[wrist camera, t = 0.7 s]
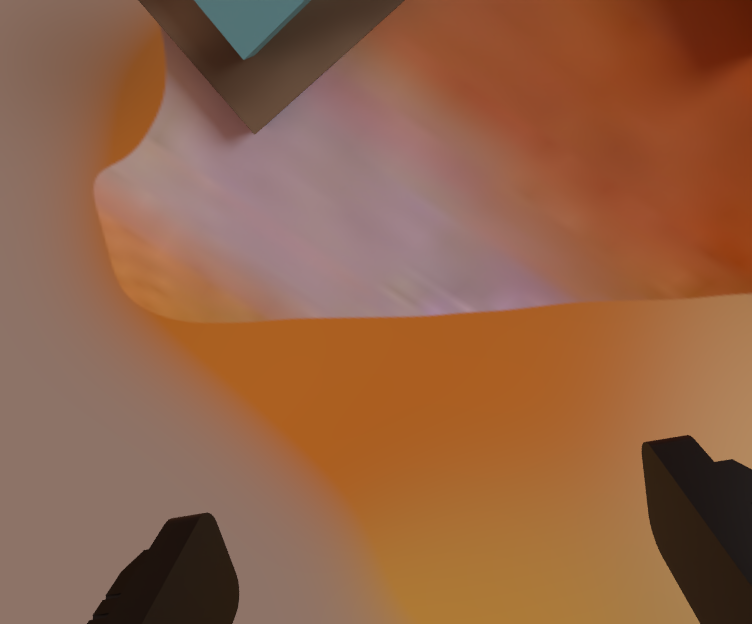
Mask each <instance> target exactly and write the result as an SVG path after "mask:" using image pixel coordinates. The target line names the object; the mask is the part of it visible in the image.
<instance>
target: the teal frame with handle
mask: <svg viewBox="0 0 752 624" xmlns="http://www.w3.org/2000/svg"><path fill="white" fill-rule="evenodd" d="M194 1H195V2H196V3H197V4H198V6H199V7H200V8H201V9H202V10H203V12H204V13H205V14H206V15H207V16H208V18H209V19H210V20H211V21H212V23H213V24H214V25H215V26H216V27H217V29H218V30H219V31H220V32H221V33H222V35H223V36H224V37H225V38H226V39H227V41H228V42H229V43H230V44H231V46H232V47H233V48H234V49H235V50H236V52H237V53H238V54H239V55H240V56H241V58H242V59H243V60H245V59H247V58H250V57H252V56H254V55H255V54H256V53H258V52H259V51H260V50H261V49H262V48H263V47H264V46H265V45H266V44H267V43H268V42H269V41H270V40H271V39H272V38H273V37H274V36H275V35H276V34H277V33H278V32H279V31H280V30H281V29H282V28H283V27H284V26H285V25H286V24H287V23H288V22H289V21H290V20H291V19H292V18H293V17H295V16H296V15H297V14H298V13H299V12H300V11H301V10H302V9H303V8H304V7H305V6H306V5H307V4H308V3H309V2H310V1H311V0H194Z"/></svg>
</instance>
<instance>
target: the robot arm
mask: <svg viewBox="0 0 752 624" xmlns="http://www.w3.org/2000/svg"><path fill="white" fill-rule="evenodd" d="M642 460H643V469H644V478H645V486H646V495H647V505H648V514H649V519H650V525H651V529H652V532H653V535H654V538H655V541H656V544H657V546H658V549H659V551H660V553H661V555H662V557H663V559H664V560H665V562H666V564H667V566H668V567H669V569H670V571H671V573H672V574H673V576H674V578H675V580H676V581H677V583H678V585H679V587H680V588H681V590H682V592H683V594H684V595H685V597H686V599H687V601H688V603H689V604H690V606H691V608H692V609H693V611H694V613H695V615H696V617H697V618H698V620H699V622H700V624H752V469H750V468H748V467H746V466H744V465H742V464H740V463H738V462H736V461H734V460H733V459H731V460H725V461H718V462H714V461H713V460H712V459H711V458H710V457H709V456H708V454H707V453H706V452H705V451H704V450H703V449H702V447H700V445H699V444H698V443H697V442H696V441H695V439H693V438H692V437H691V436H689V435H687V436H680V437H673V438H667V439H662V440H656V441H649V442H644V443H643V445H642ZM238 602H239V584H238V579H237V575H236V572H235V570H234V567H233V565H232V562H231V559H230V556H229V554H228V551H227V548H226V546H225V543H224V540H223V538H222V535H221V533H220V530H219V527H218V525H217V522H216V520H215V518H214V517H213V516H212V515H211V514H210V513H202V514H196V515H190V516H184V517H178V518H172V519H169V520H168V521H167V522H166V523H165V524H164V526H163V528H162V529H161V531H160V532H159V534H158V536H157V537H156V539H155V540H154V542H153V544H152V545H151V547H150V548H149V549H148V550H144V551H143V552H142V553H141V554H140V555H139V556H138V557H137V558H136V559H134V560H133V561H132V562H131V563H130V564H129V565H128V566H127V567H126V568H125V569H124V570H123V571H122V572H121V573H120V574H119V576H118V578H117V579H116V581H115V582H114V584H113V585H112V587H111V588H110V590H109V591H108V593H107V594H106V600H102V602H101V603H100V605H99V607H98V608H97V610H96V611H95V613H94V614H93V620H90V621H89V622H88V623H87V624H232V623H233V620H234V618H235V615H236V612H237V609H238Z"/></svg>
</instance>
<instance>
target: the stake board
mask: <svg viewBox="0 0 752 624" xmlns="http://www.w3.org/2000/svg"><path fill="white" fill-rule="evenodd" d="M139 1H140V3H141V4H142V5H143V6H144V7H145V8H146V9H147V11H148V12H149V13H150V14H151V15H152V16H153V17H154V19H155V20H156V21H157V22H158V23H159V25H160V26H161V27H162V28H163V29H164V30H165V32H166V33H167V34H168V35H169V36H170V37H171V38H172V40H173V41H174V42H175V43H176V44H177V45H178V47H179V48H180V49H181V50H182V51H183V52H184V54H185V55H186V56H187V57H188V58H189V59H190V60H191V62H192V63H193V64H194V65H195V66H196V67H197V69H198V70H199V71H200V72H201V73H202V74H203V76H204V77H205V78H206V79H207V80H208V81H209V82H210V84H211V85H212V86H213V87H214V88H215V89H216V91H217V92H218V93H219V94H220V95H221V96H222V98H223V99H224V100H225V101H226V102H227V103H228V104H229V106H230V107H231V108H232V109H233V110H234V111H235V113H236V114H237V115H238V116H239V117H240V118H241V120H242V121H243V122H244V123H245V124H246V125H247V126H248V128H249V129H250V130H251V131H252V132H253V133H254V135H255V134H256V133H257V132H258V131H259V130H261V129H262V128H263V127H264V126H265V125H266V124H267V123H268V122H270V121H271V120H272V119H273V118H274V117H275V116H276V115H277V114H279V113H280V112H281V111H282V110H283V109H284V108H285V107H286V106H287V105H289V104H290V103H291V102H292V101H293V100H294V99H295V98H296V97H297V96H299V95H300V94H301V93H302V92H303V91H304V90H305V89H306V88H307V87H309V86H310V85H311V84H312V83H313V82H314V81H315V80H316V79H318V78H319V77H320V76H321V75H322V74H323V73H324V72H325V71H326V70H328V69H329V68H330V67H331V66H332V65H333V64H334V63H335V62H336V61H338V60H339V59H340V58H341V57H342V56H343V55H344V54H345V53H346V52H348V51H349V50H350V49H351V48H352V47H353V46H354V45H355V44H357V43H358V42H359V41H360V40H361V39H362V38H363V37H364V36H365V35H367V34H368V33H369V32H370V31H371V30H372V29H373V28H374V27H375V26H377V25H378V24H379V23H380V22H381V21H382V20H383V19H384V18H385V17H387V16H388V15H389V14H390V13H391V12H392V11H393V10H394V9H396V8H397V7H398V6H399V5H400V4H401V3H402V2H403V1H404V0H311V1H310V2H309V3H308V4H307V5H306V6H305V7H304V8H303V9H302V10H301V11H300V12H299V13H298V14H297V15H296V16H295V17H293V18H292V19H291V20H290V21H289V22H288V23H287V24H286V25H285V26H284V27H283V28H282V29H281V30H280V31H279V32H278V33H277V34H276V35H275V36H274V37H273V38H272V39H271V40H270V41H269V42H268V43H267V44H266V45H265V46H264V47H263V48H262V49H261V50H260V51H259V52H258V53H256V54H255V55H254V56H252V57H250V58H247V59H245V60H243V59H242V58H241V56H240V55H239V54H238V53H237V52H236V50H235V49H234V48H233V47H232V46H231V44H230V43H229V42H228V41H227V39H226V38H225V37H224V36H223V35H222V33H221V32H220V31H219V30H218V29H217V27H216V26H215V25H214V24H213V23H212V21H211V20H210V19H209V18H208V16H207V15H206V14H205V13H204V12H203V10H202V9H201V8H200V7H199V6H198V4H197V3H196V2H195V1H194V0H139Z"/></svg>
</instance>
